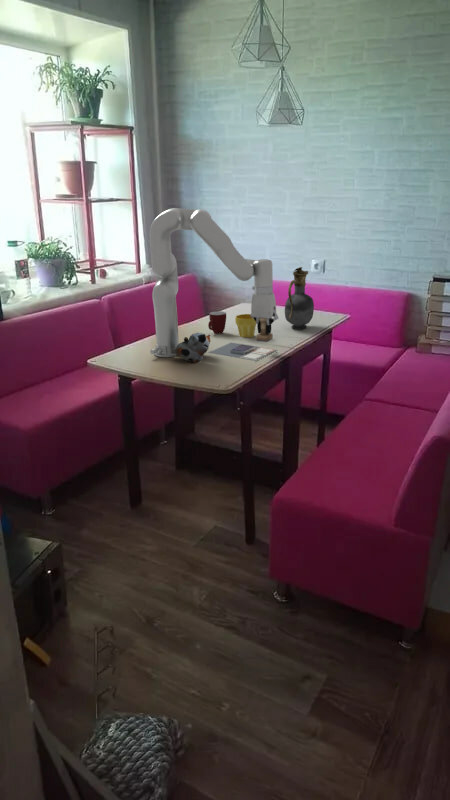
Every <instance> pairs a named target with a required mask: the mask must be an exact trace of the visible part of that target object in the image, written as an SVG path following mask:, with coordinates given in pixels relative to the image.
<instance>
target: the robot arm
mask: <svg viewBox="0 0 450 800" xmlns="http://www.w3.org/2000/svg"><path fill="white" fill-rule="evenodd" d="M177 230H182V231H184V230H185V231H193V232H195V234H196V235H197V236H198V237H199V238H200V239H201V240H202V241H203V242H204V243H205V244H206V246H208V248H210V250H211V251H212V252H213V253H214V254H215V255H216V257H218V259H219V260H220V261H221V262H222V264H224V266H225V267H226V268H227V269H228V270H229V271H230V272H231V273H232V274H233V276H234V277H236V278H237V279H238V280H240V281H242V282H247V281H250V280H251V279H252V277H254V278H253V279H254V280H253V281H254V285H253V286H251V287H252V288H251V289H252V290H253V293H252V297H251V306H250V314H251V315H250V317H252V318H253V319H254V320H255V321H256V327H257V333H258V334H260V333H261V322H260V320H259V318H266V321H267V325H266V334H269V333H272V324H273V323H274V322H275V321H277V320H279V315H278V313H277V304H276V303H277V302H276V295H275V293H274V287H273V286H274V285H273V283H274V282H273V280H274V279H273V261H272V260H270V259H268V258H267V259H265V258H261V259H248V258H245V257H244V256H243V255H242V254H241V253H240V252H239V251H238V250H237V248H236V246H235V245H234V243H233V242H232V240H231V238H230V237H229V235H228V234H227V233H226V232H225V231H224V230H223V229H222V228H221V227H220V226H219V225H218V223H216V222H215V221H214V220H213V218H212V215H211V214H210V213H209V212H208V211H207V210H205V209H192V208H179V207H178V208H176V207H175V208H174V207H173V208H169V209H167V210H165V211H163V212H161V213H160V214H159V215H157V216H156V217H155V218H154V220H153V221H152V223H151V225H150V228H149V243H150V244H149V245H150V249H149V250H150V258H151V259H150V261H151V270H152V272H153V274H154V275H155V282H156V283H155V284H154V286H153V288H152V294H151V295H152V296H151V297H152V304H153V309H154V310H153V311H154V323H155V338H156V339H155V340H156V344H155V348H153V349H150V351H149V352H150V354H151V355H154V356H156V357H159V358H174V357H176V356H178V355H177V354H175V353H173V350H175V349H176V347H177V345H178V344H180V341H179V323H178V309H177V298H176V297H177V294H178V293H179V292H178V291H179V279H178V278H179V277H178V276H179V275H178V264H177V262H178V261H177V259H176V257H175V255H174V254H173V253H172V241H171V239H172V238H171V235H172V233H173V232H176V231H177Z"/></svg>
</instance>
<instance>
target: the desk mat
mask: <svg viewBox="0 0 450 800" xmlns="http://www.w3.org/2000/svg"><path fill="white" fill-rule="evenodd" d="M241 344H243V343H236V342H229V343H227V344H225V345H222V346H220V347H217V348H215V349H213V350H210V351H209V352H207V353H209V354H212V355H213V354H215V355H220V356H225V357H230V358H232V357H233V358H235V359H236V358H237V359H243V360H246V359H245V358H240V357H241V356H243V355H241V354H235V353H230V349H232V348H235V347H237V346H239V345H241ZM243 345H245V344H243ZM248 345H249V344H248ZM249 346H251V345H249ZM254 346H255V345H254ZM260 347H261V346H255V350H256V349H258V348H260ZM253 351H254V350H253ZM276 351H277V349H276V350H275V351H273V352H271V353H269V354H267V355H265V356H263V357H261V358H259V359H257V360H253V361H254V362H255V363H257V362H259V361H260V359H262V358H264V357H266V356H268V355H270V354H272V353H274V352H275V353H277V352H276ZM247 360H249V361H252V360H251V359H247Z"/></svg>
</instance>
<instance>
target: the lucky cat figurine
mask: <svg viewBox="0 0 450 800" xmlns="http://www.w3.org/2000/svg"><path fill="white" fill-rule="evenodd" d="M210 342H211V335H210V334H208V335H206V334H205V333H202V332H196V333H192V334H191V335H190V336H189V338H188V337H187V336H185V337H183V341H182V342H179V344H178V345H177V347H176V349H175V350H173V353H175V354H177V355H176V356H178V357H180V358H181V359H183V360H184V361H187V362H191V363H192V364H196V363H198V362H200V361H202V360H203V359H204V354H206V353H208V352H207V351H208V350H209V347H210Z"/></svg>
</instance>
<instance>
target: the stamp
mask: <svg viewBox="0 0 450 800" xmlns="http://www.w3.org/2000/svg"><path fill="white" fill-rule="evenodd" d="M259 320H260V322H261V333H258V334H256V342H257V341H258V342H265V343H268V342H270V341H272V340H273V338H274V334H273V333H272V332H271V333H269V334H266V325H267V321H266V318H259Z"/></svg>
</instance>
